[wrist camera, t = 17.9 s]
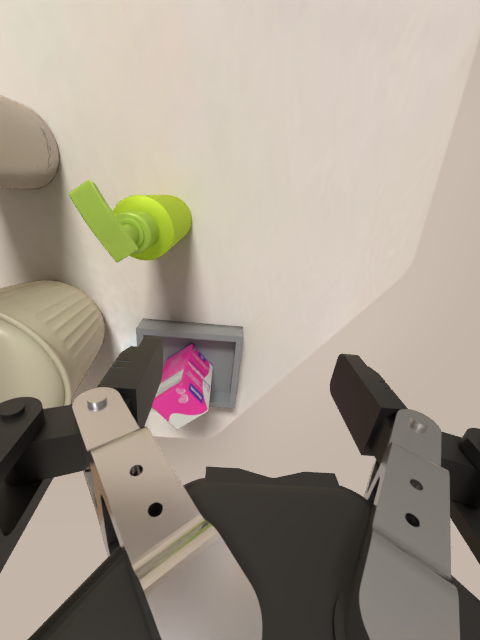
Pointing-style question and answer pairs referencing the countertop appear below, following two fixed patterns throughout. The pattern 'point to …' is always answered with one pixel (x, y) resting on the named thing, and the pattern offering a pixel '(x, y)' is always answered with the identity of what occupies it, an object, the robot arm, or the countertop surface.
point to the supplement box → (184, 387)
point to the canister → (46, 341)
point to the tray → (203, 351)
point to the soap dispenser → (133, 222)
